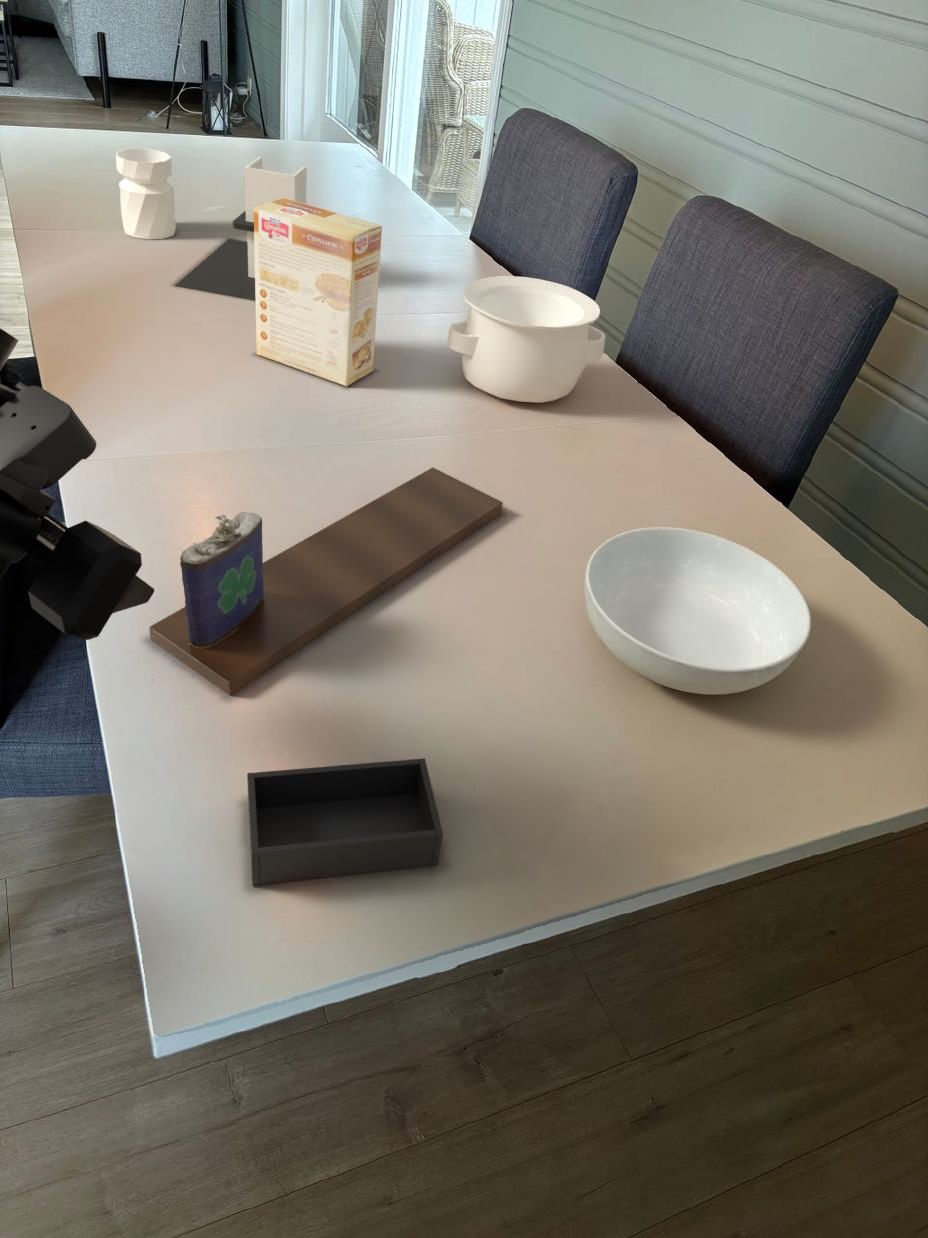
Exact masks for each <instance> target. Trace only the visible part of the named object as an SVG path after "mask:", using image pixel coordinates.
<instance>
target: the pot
mask: <svg viewBox="0 0 928 1238" xmlns="http://www.w3.org/2000/svg"><path fill="white" fill-rule="evenodd" d="M463 293H464V294H463V296H464V297H463V298H464V300H465V302H466V303H467V304H468V305H469V309H468V312H467V316H466V320H462V321H460V322H454V323H451V324H450V326H449V329H448V335H447V341H446V345H447V346H448V347H449V349H450V350H452V351H454V352H457V353H459V354H461V365H462V372H463V375H464V377H465V379H466V381H467V382H469V384H471V385H472V386H474V387H475V388H476V389H479V390H481V391H483V392H485V393H486V394H490V395H492V396H495V397H497V398H499V399H504V400H510V401H515V402H520V403H521V402H523V403H535V404H536V403H537V404H540V403H548V402H553V401H556V400H559V399H561V398H564V397H567V396H568V395H569V393H571V391H572V390H573V389H574V388H575V386H576V384H577V383H578V380H579V378H580V377H581V375H582V373H583V371H584V370H585V369H586V366H587V364H591V363H592V364H593V363H597V362H598V361H600V360H601V359H602V357H603V355H604V351H605V345H606V337H607V336H606V334H605V333H604V332H603V331H602V330H600V329H598V328H596V327H594V326H591V324H594V323H595V322H596V321H597V320H598V319H599V317H600V313H601V309H600V306H599V304H598V303H596V301H595V300H594V299H592V298H591V297H589V296H588V295H586V294H585V293H583V292H581V291H579V290H577V289H574V288H572V287H570V286H567V285H565V284H560V283H557V282H553V281H549V280H546V279H545V280H544V279H542V278H541V279H540V278H535V277H527V276H515V275H512V276H511V275H500V276H499V275H498V276H497V275H496V276H489V277H484V278H480V279H477V280H474V281H473V282H471V283H469V284H467V285H466V286H465V288H464V291H463Z"/></svg>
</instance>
